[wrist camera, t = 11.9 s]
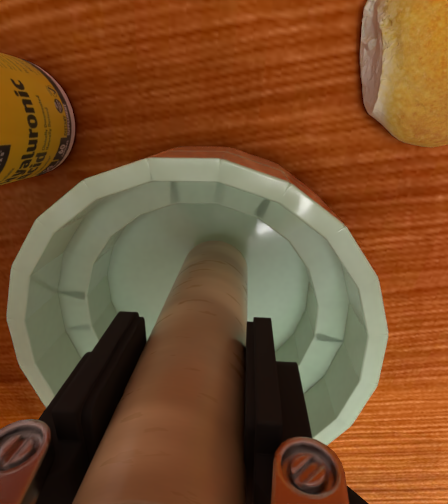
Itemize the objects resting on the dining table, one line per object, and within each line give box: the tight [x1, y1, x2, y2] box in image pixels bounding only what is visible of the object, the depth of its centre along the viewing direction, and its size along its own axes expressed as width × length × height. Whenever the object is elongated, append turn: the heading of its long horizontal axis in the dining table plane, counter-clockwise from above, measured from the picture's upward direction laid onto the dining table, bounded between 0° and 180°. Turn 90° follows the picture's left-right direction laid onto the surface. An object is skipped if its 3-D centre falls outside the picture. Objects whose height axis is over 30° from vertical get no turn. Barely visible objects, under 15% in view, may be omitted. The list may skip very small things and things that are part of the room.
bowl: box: [6, 146, 388, 445], centre depth 17 cm, size 16×16×6 cm
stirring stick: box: [72, 240, 248, 504], centre depth 11 cm, size 3×3×12 cm
